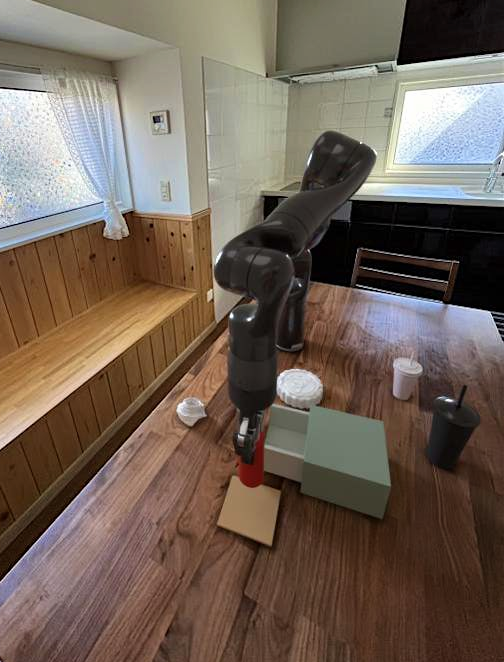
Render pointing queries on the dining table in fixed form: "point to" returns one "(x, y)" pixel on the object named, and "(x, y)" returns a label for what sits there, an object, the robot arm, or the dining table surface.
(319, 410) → the cabinet
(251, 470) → the ketchup bottle
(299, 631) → the dining table surface
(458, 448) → the drinking cup
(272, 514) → the cork coaster
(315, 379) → the mooncake
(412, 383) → the smoothie
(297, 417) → the drawer
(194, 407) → the whipped cream
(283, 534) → the dining table surface
